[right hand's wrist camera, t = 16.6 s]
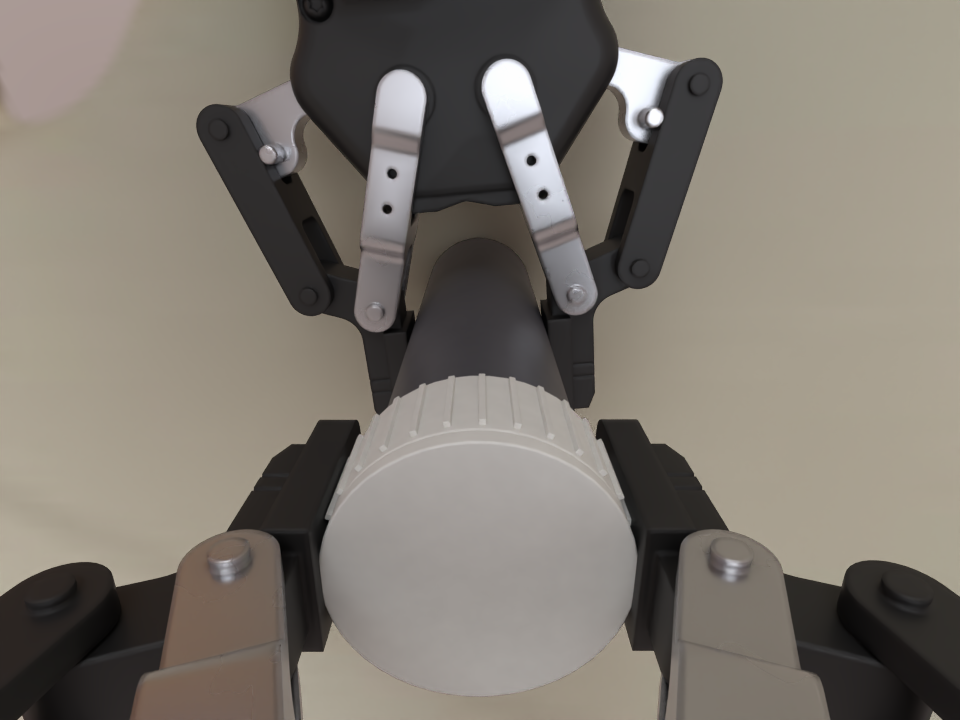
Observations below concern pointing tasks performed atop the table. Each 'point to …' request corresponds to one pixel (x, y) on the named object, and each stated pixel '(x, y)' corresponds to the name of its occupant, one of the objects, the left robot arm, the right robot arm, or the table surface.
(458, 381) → the lid
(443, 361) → the dark cylinder
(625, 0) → the table surface
